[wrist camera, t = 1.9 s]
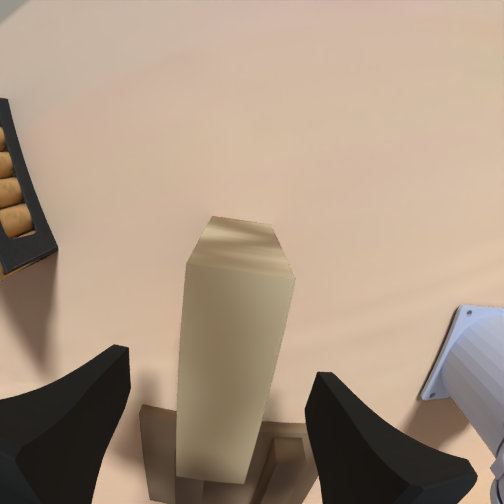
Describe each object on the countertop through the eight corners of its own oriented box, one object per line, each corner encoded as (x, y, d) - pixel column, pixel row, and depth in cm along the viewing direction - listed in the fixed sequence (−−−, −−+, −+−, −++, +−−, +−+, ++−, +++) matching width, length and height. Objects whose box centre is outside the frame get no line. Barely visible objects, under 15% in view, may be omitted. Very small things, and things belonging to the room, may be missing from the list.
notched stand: (337, 423, 20) (349, 457, 17) (294, 505, 24) (299, 532, 20) (142, 404, 19) (130, 439, 16) (151, 492, 23) (145, 519, 19)
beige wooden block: (271, 224, 16) (296, 278, 9) (242, 381, 19) (244, 484, 11) (212, 215, 16) (185, 263, 9) (194, 374, 19) (175, 476, 11)
